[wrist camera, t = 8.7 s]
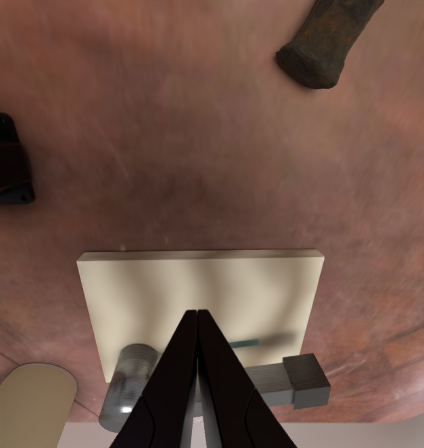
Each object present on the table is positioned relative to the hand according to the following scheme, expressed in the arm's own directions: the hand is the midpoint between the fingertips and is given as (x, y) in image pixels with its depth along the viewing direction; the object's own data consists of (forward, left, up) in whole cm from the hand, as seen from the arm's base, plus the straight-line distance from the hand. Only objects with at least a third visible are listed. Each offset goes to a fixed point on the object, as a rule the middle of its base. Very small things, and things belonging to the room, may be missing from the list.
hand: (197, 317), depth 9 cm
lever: (+2, -15, -10) cm, 18 cm away
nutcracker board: (+1, -12, -12) cm, 17 cm away
